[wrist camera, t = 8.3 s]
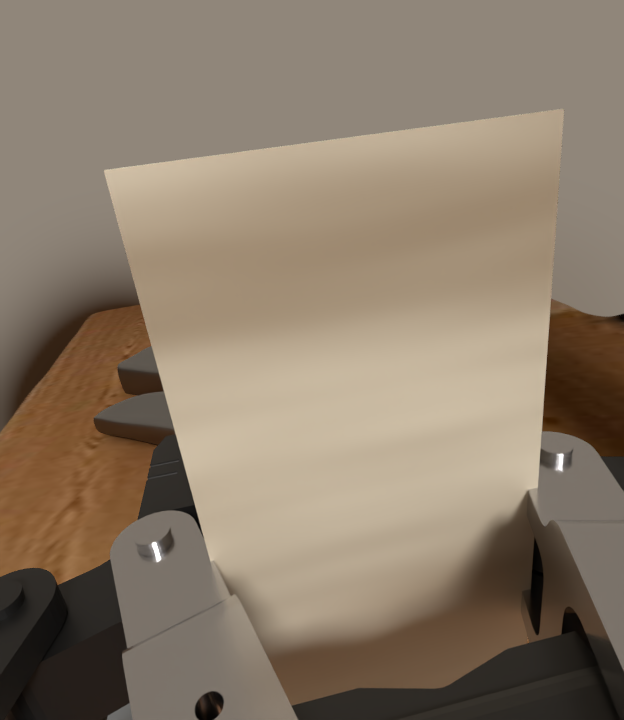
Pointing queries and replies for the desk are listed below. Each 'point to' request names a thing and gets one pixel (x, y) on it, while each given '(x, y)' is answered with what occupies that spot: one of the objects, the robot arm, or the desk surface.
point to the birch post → (359, 384)
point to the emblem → (138, 403)
